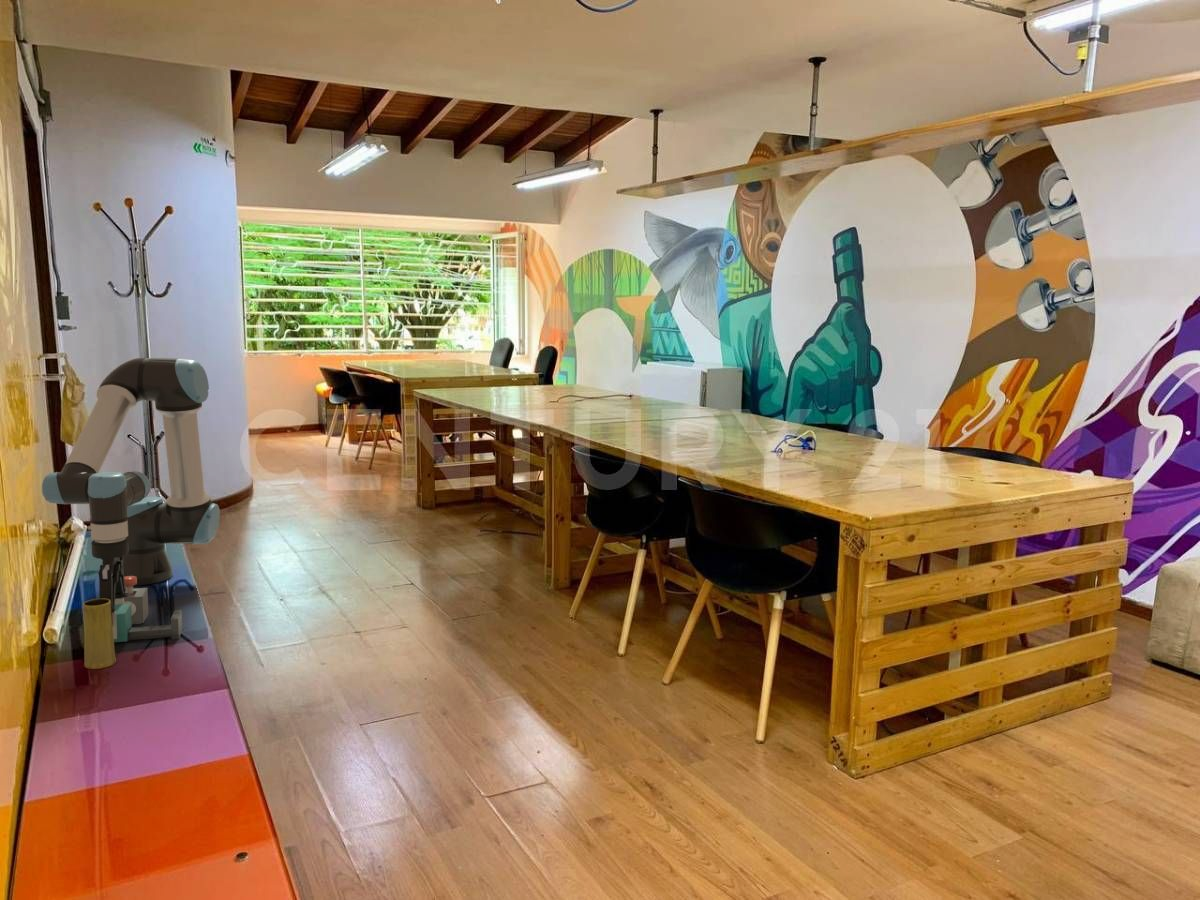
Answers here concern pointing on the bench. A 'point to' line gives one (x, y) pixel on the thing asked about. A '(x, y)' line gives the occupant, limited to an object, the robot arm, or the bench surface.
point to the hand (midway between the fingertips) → (114, 631)
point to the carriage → (123, 621)
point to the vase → (98, 634)
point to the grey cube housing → (138, 605)
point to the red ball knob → (130, 584)
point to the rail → (159, 629)
